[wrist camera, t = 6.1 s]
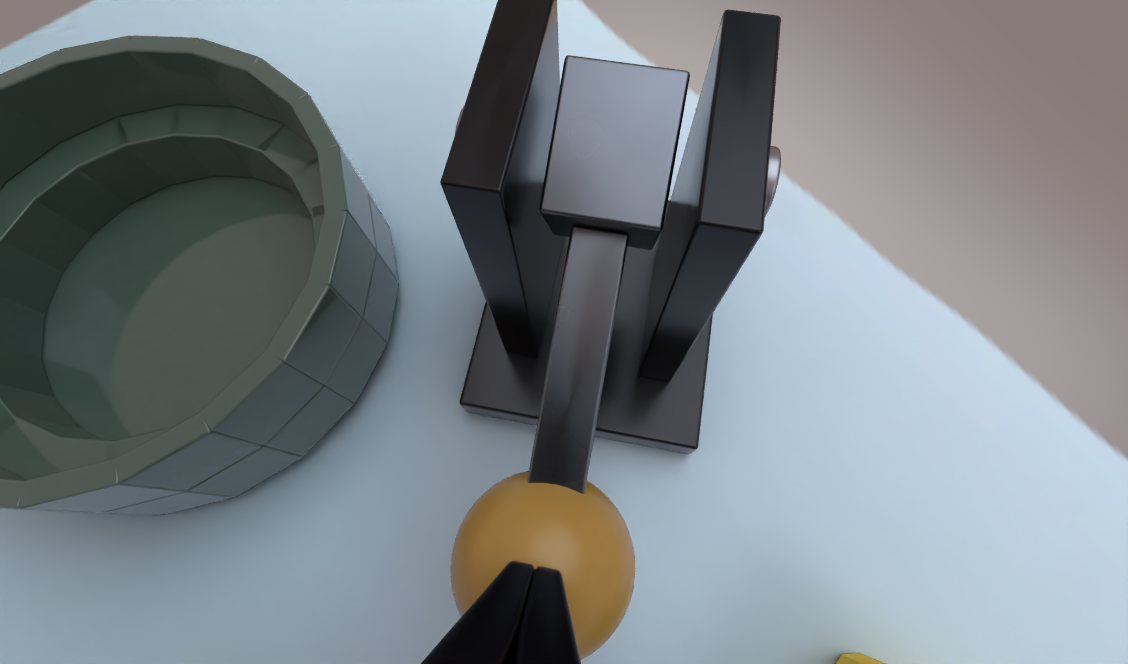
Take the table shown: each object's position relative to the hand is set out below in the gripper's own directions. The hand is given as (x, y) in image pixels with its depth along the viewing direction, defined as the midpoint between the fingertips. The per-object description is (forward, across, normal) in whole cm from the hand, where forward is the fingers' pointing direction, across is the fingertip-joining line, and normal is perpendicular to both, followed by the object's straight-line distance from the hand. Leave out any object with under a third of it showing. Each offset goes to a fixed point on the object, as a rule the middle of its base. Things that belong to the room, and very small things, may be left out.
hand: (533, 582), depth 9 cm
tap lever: (+5, 0, -1) cm, 5 cm away
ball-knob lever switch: (+10, 0, 0) cm, 11 cm away
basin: (+9, +13, +1) cm, 16 cm away
